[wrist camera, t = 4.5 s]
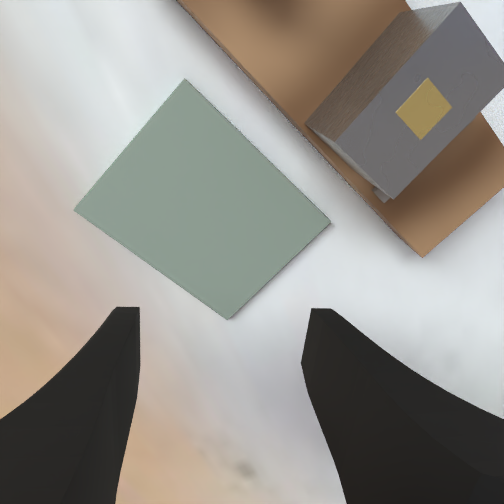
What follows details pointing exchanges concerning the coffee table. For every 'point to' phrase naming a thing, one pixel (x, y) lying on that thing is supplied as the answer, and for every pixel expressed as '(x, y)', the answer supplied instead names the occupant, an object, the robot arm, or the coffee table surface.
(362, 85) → the grey rectangular block
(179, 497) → the coffee table surface
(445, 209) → the plane body
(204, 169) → the mat
